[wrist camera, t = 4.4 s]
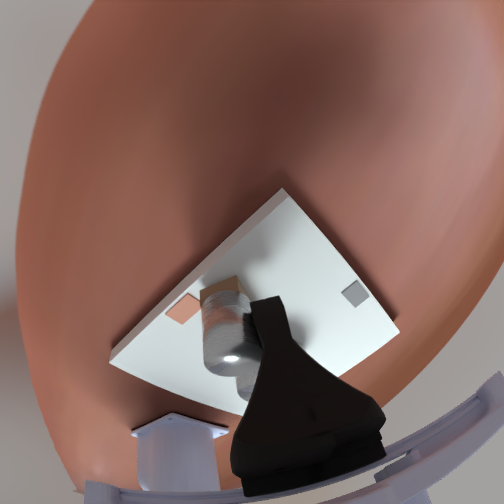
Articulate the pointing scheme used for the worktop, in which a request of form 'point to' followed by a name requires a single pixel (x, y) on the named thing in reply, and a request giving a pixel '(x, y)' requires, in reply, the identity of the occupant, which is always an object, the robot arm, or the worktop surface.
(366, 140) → the worktop surface
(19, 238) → the worktop surface
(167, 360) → the base
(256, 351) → the silver piece
